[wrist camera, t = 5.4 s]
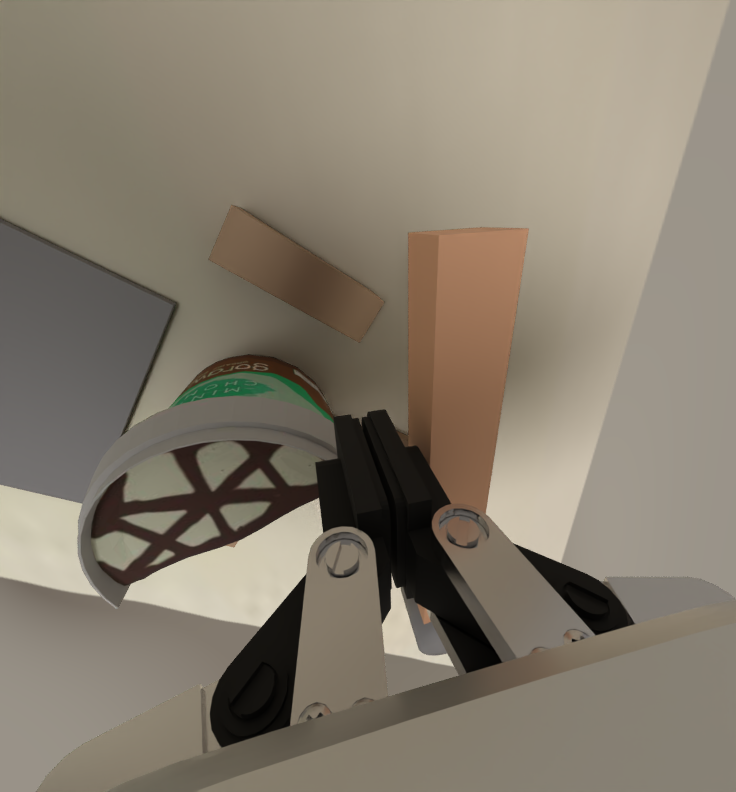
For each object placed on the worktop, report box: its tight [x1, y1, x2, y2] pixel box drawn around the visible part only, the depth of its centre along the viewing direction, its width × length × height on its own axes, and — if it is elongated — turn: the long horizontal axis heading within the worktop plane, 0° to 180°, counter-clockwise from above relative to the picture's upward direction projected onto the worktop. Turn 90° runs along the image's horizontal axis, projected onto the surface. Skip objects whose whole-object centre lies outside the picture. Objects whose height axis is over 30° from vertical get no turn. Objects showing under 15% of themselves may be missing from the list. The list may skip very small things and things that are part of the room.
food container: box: [78, 355, 338, 609], centre depth 17 cm, size 12×6×10 cm, turn 112°
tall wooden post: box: [401, 227, 529, 655], centre depth 12 cm, size 16×3×2 cm, turn 3°
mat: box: [0, 219, 176, 504], centre depth 18 cm, size 10×15×1 cm, turn 148°
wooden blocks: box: [208, 205, 408, 547], centre depth 18 cm, size 16×19×10 cm
